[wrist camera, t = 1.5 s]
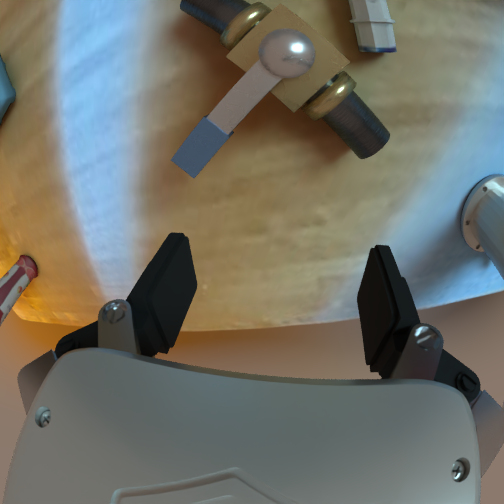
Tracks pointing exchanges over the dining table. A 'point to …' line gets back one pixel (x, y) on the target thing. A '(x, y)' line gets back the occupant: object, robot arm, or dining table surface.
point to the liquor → (15, 283)
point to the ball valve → (302, 87)
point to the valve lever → (246, 95)
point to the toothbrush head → (373, 25)
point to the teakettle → (5, 90)
